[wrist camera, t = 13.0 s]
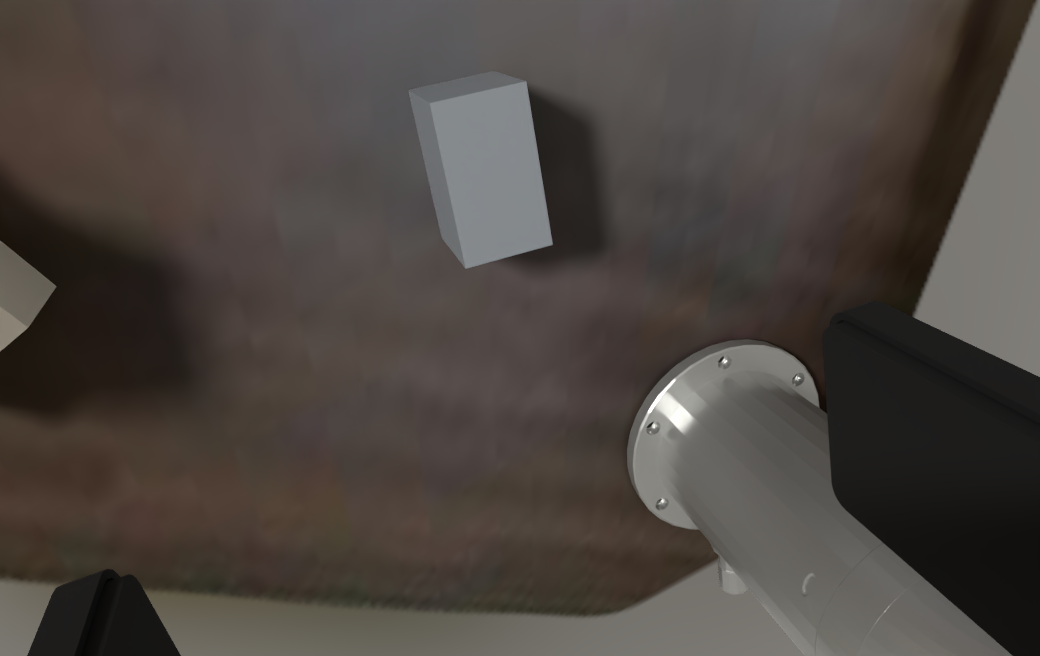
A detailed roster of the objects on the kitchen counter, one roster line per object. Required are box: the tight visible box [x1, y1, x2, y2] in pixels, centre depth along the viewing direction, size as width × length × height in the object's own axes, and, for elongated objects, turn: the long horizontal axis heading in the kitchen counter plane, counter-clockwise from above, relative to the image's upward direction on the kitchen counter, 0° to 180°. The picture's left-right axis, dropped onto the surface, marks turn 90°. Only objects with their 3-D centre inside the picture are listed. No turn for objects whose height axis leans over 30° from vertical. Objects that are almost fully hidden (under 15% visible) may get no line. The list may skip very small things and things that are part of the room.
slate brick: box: [408, 71, 553, 269], centre depth 34 cm, size 7×4×5 cm, turn 11°
